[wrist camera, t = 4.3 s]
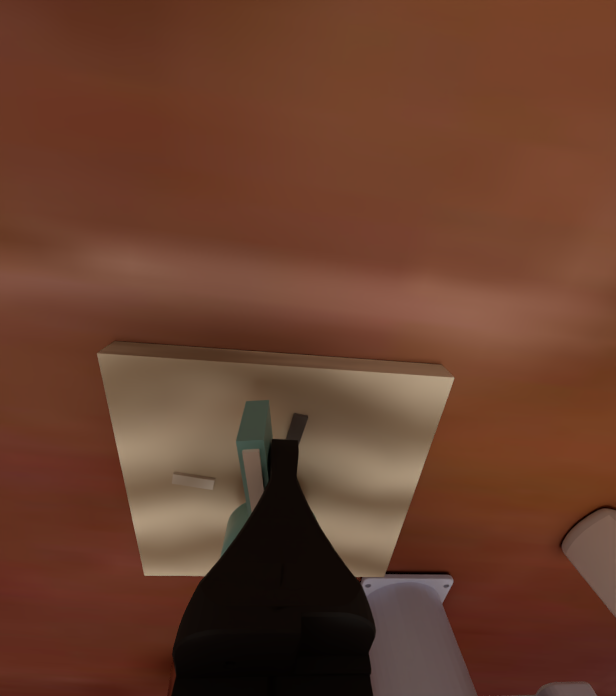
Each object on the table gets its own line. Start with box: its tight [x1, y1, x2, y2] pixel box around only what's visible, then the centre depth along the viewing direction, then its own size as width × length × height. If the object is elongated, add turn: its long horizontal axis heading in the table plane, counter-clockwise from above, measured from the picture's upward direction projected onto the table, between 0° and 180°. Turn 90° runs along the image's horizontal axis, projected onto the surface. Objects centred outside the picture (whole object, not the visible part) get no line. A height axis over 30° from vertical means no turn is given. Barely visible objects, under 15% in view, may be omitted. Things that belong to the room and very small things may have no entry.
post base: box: [97, 341, 454, 577], centre depth 18 cm, size 18×18×4 cm
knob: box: [220, 400, 316, 558], centre depth 14 cm, size 11×5×3 cm, turn 2°
